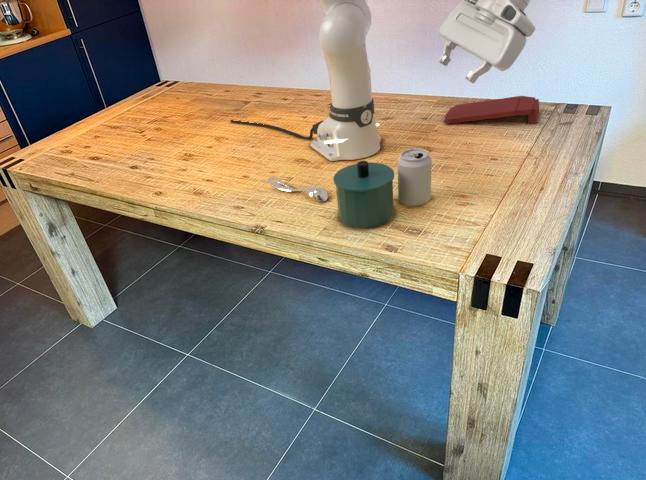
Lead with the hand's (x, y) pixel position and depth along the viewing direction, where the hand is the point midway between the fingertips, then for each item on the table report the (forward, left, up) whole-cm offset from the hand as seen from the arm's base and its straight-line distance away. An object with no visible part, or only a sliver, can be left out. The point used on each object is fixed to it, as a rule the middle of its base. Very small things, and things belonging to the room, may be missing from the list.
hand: (455, 72), depth 109 cm
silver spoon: (-26, -29, -26) cm, 47 cm away
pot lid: (-4, -24, -17) cm, 29 cm away
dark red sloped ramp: (-19, +38, -26) cm, 50 cm away
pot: (-4, -24, -26) cm, 36 cm away
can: (0, -12, -26) cm, 29 cm away
